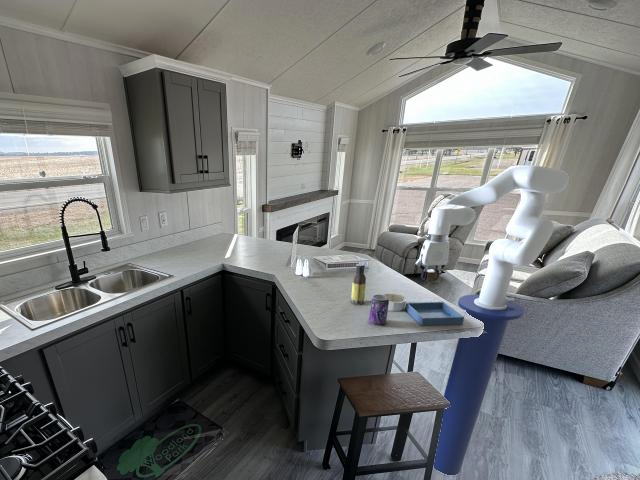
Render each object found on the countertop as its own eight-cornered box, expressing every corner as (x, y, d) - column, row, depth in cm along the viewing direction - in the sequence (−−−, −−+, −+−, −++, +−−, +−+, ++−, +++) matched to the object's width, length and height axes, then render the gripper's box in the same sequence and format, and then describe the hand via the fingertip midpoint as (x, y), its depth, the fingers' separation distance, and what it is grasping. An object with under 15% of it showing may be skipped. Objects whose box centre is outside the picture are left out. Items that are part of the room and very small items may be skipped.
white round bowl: (398, 301, 164) (400, 293, 162) (408, 310, 153) (410, 302, 152) (376, 302, 164) (377, 293, 162) (385, 311, 154) (386, 302, 152)
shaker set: (313, 277, 200) (314, 260, 196) (308, 279, 198) (308, 261, 194) (300, 272, 210) (300, 256, 205) (295, 274, 208) (295, 257, 203)
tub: (441, 308, 154) (443, 301, 153) (462, 324, 140) (464, 317, 138) (404, 309, 155) (406, 302, 154) (421, 325, 140) (423, 318, 139)
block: (431, 277, 145) (432, 269, 144) (436, 280, 141) (437, 272, 140) (422, 278, 145) (423, 269, 144) (426, 281, 142) (428, 272, 140)
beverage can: (370, 325, 142) (373, 300, 137) (367, 318, 148) (370, 294, 143) (387, 326, 141) (391, 300, 136) (383, 318, 147) (387, 294, 142)
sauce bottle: (363, 300, 167) (367, 262, 159) (364, 305, 161) (369, 266, 153) (350, 299, 168) (354, 262, 160) (350, 304, 163) (354, 266, 155)
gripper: (421, 240, 133) (413, 282, 140) (463, 239, 132) (453, 281, 140) (412, 236, 140) (405, 276, 147) (452, 235, 139) (443, 275, 147)
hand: (429, 278), depth 143 cm, fingers closed on block, 4 cm apart
